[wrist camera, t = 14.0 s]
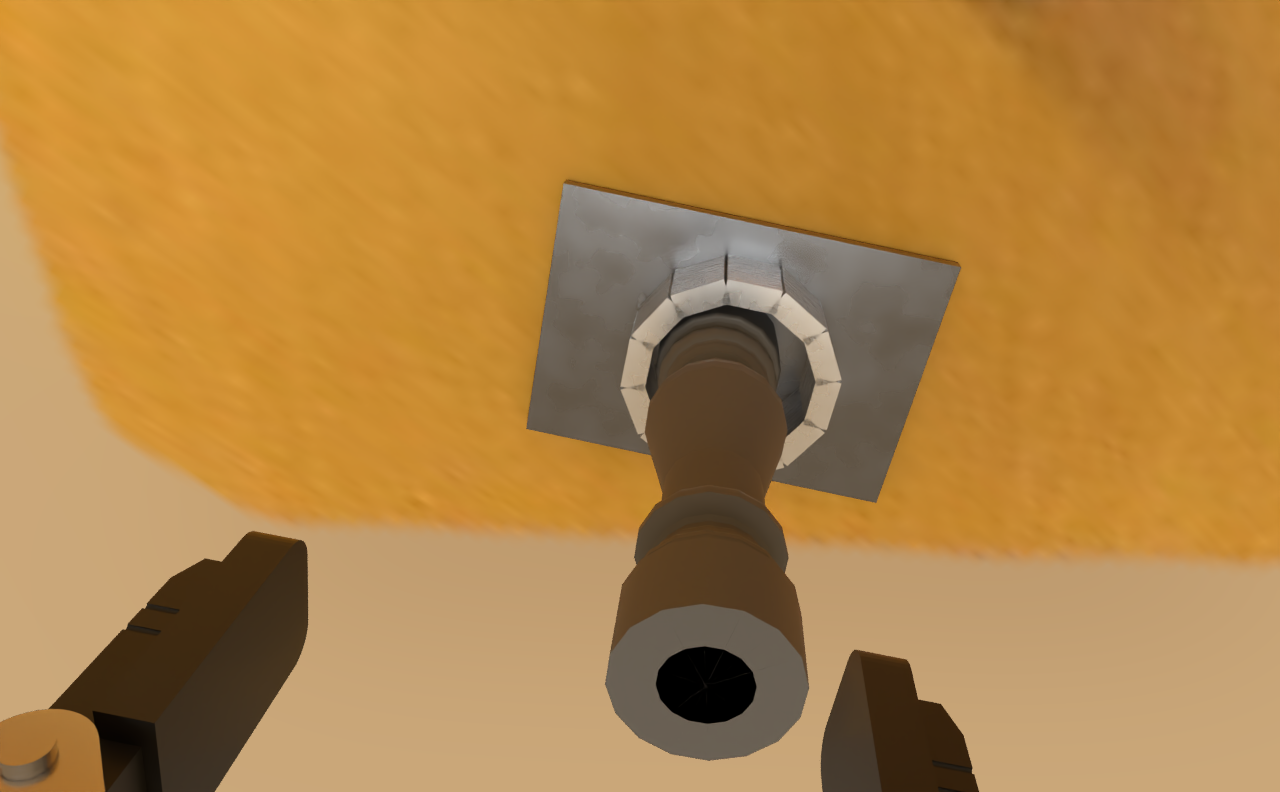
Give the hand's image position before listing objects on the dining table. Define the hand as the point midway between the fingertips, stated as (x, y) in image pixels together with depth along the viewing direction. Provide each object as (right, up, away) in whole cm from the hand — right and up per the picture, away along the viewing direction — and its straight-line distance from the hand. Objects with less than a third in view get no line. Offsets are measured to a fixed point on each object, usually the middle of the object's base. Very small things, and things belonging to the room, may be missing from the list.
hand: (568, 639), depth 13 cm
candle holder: (+5, +6, +35) cm, 36 cm away
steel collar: (+6, +6, +36) cm, 37 cm away
